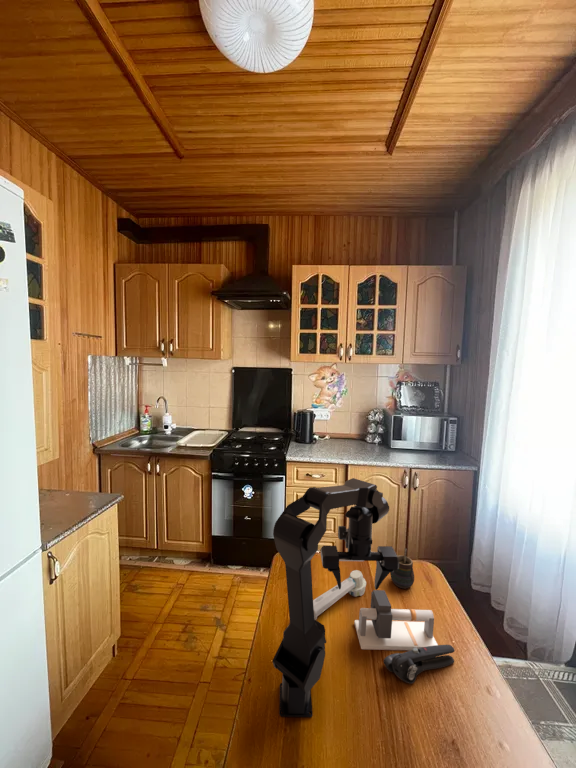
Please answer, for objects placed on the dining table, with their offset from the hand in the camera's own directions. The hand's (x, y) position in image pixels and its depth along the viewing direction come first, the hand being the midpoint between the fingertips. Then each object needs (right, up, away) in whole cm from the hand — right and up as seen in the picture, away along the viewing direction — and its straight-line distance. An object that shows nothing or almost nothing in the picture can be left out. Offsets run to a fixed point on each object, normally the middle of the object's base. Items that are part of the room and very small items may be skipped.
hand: (357, 588), depth 87 cm
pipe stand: (+10, -13, 0) cm, 16 cm away
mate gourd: (+18, -12, +22) cm, 31 cm away
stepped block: (+6, -10, 0) cm, 12 cm away
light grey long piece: (-5, -12, +11) cm, 17 cm away
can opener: (+13, -14, -8) cm, 21 cm away
